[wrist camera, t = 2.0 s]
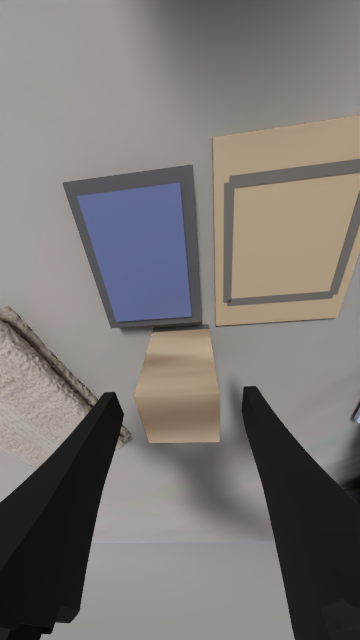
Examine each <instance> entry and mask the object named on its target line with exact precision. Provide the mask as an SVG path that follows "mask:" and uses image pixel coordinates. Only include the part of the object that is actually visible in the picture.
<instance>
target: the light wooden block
mask: <svg viewBox="0 0 360 640" xmlns="http://www.w3.org/2000/svg"><path fill="white" fill-rule="evenodd" d="M134 399H135V402H136V405H137V408H138V411H139V414H140V417H141V420H142V423H143V426H144V429H145V432H146V435H147V438H148V441H149V443H185V442H220V417H219V388H218V382H217V376H216V369H215V363H214V356H213V350H212V344H211V337H210V331H209V325H208V324H207V325H192V326H177V327H162V328H153V332H152V335H151V339H150V342H149V346H148V349H147V352H146V356H145V359H144V363H143V366H142V370H141V373H140V377H139V380H138V384H137V387H136V391H135V394H134Z"/></svg>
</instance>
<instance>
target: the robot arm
mask: <svg viewBox="0 0 360 640" xmlns="http://www.w3.org/2000/svg"><path fill="white" fill-rule="evenodd" d="M242 414H243V420H244V424H245V429H246V433H247V436H248V439H249V443H250V446H251V449H252V452H253V456H254V459H255V462H256V465H257V469H258V472H259V475H260V478H261V482H262V486H263V489H264V494H265V498H266V502H267V507H268V511H269V515H270V520H271V525H272V529H273V534H274V538H275V543H276V548H277V553H278V557H279V562H280V567H281V572H282V576H283V582H284V587H285V592H286V597H287V603H288V607H289V613H290V618H291V624H292V629H293V633H294V637H295V640H360V505H359V504H358V503H357V502H356V501H355V500H354V499H353V498H352V497H351V496H350V495H349V494H348V493H347V492H345V491H344V490H343V489H342V488H341V487H340V486H339V485H338V484H337V483H336V482H335V481H334V480H333V479H332V478H331V477H330V476H329V475H328V474H327V473H326V472H325V471H324V470H323V469H322V468H321V467H320V466H319V465H318V464H317V462H316V461H315V460H314V459H313V458H312V457H311V456H310V455H309V454H308V453H307V452H306V451H305V449H304V448H303V447H302V446H301V445H300V444H299V443H298V441H297V440H296V439H295V438H294V437H293V435H292V434H291V433H290V432H289V431H288V429H287V428H286V427H285V426H284V424H283V423H282V422H281V421H280V419H279V418H278V417H277V415H276V414H275V413H274V411H273V410H272V409H271V407H270V406H269V404H268V403H267V402H266V400H265V399H264V397H263V396H262V394H261V393H260V391H259V390H258V388H257V387H256V386H247V387H244V389H243V401H242ZM123 416H124V413H123V411H122V409H121V406H120V404H119V401H118V399H117V396H116V394H115V392H106V393H104V394H103V395H102V396H101V398H100V399H99V400H98V401H97V402H96V404H95V405H94V406H93V407H92V409H91V410H90V411H89V412H88V414H87V415H86V416H85V417H84V419H83V420H82V421H81V422H80V423H79V425H78V426H77V427H76V428H75V429H74V430H73V432H72V433H71V434H70V435H69V436H68V437H67V438H66V439H65V441H64V442H63V443H62V444H61V445H60V446H59V447H58V448H57V449H56V450H55V452H54V453H53V454H52V455H51V456H50V457H49V458H48V459H47V460H46V461H45V462H44V463H43V464H42V465H41V466H40V467H39V468H38V469H37V470H36V471H35V472H34V473H33V474H32V475H30V476H29V477H28V478H27V479H26V480H25V481H24V482H23V483H22V484H21V485H20V486H19V487H17V488H16V489H15V490H14V491H13V492H12V493H11V494H10V495H9V496H7V497H6V498H5V499H4V500H3V501H2V502H0V640H40V637H41V634H51V633H52V631H53V627H54V624H55V622H57V623H70V622H71V621H72V620H73V619H74V618H75V617H76V615H77V614H78V612H79V611H80V604H81V598H82V591H83V586H84V580H85V574H86V568H87V562H88V557H89V552H90V547H91V542H92V536H93V532H94V527H95V522H96V517H97V513H98V508H99V504H100V500H101V495H102V491H103V487H104V484H105V480H106V477H107V474H108V470H109V467H110V464H111V461H112V458H113V455H114V452H115V448H116V445H117V442H118V439H119V435H120V432H121V427H122V422H123ZM354 420H355V421H356V422H357V423H358V424H360V408H359V410H358V411H357V413H356V415H355V417H354Z"/></svg>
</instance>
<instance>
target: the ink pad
mask: <svg viewBox="0 0 360 640" xmlns="http://www.w3.org/2000/svg"><path fill="white" fill-rule="evenodd" d="M63 186H64V189H65V192H66V195H67V198H68V201H69V204H70V207H71V210H72V213H73V216H74V219H75V222H76V225H77V228H78V231H79V234H80V237H81V240H82V243H83V246H84V249H85V252H86V255H87V258H88V261H89V264H90V267H91V270H92V273H93V276H94V279H95V282H96V285H97V288H98V291H99V294H100V296H101V299H102V302H103V305H104V308H105V311H106V314H107V317H108V320H109V323H110V326H111V328H120V327H135V326H150V325H165V324H179V323H194V322H202V319H201V301H200V284H199V267H198V250H197V232H196V215H195V198H194V181H193V165H186V166H179V167H172V168H164V169H157V170H150V171H143V172H136V173H129V174H121V175H114V176H107V177H100V178H93V179H86V180H78V181H71V182H64V183H63Z"/></svg>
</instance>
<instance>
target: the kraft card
mask: <svg viewBox="0 0 360 640" xmlns="http://www.w3.org/2000/svg"><path fill="white" fill-rule="evenodd" d="M213 195H214V256H215V317H216V326H220V325H236V324H251V323H266V322H281V321H296V320H312V319H327V318H337V317H338V314H339V311H340V308H341V306H342V303H343V300H344V297H345V294H346V291H347V288H348V285H349V282H350V279H351V276H352V273H353V271H354V268H355V265H356V262H357V259H358V256H359V253H360V115H357V116H350V117H344V118H337V119H330V120H324V121H317V122H311V123H304V124H297V125H291V126H284V127H277V128H271V129H264V130H257V131H251V132H244V133H237V134H231V135H224V136H217V137H213Z"/></svg>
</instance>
